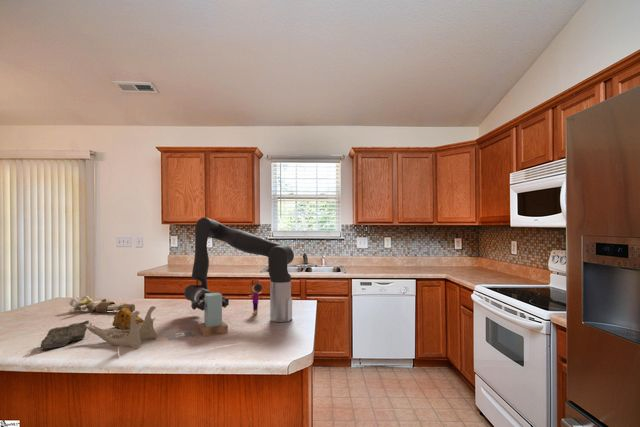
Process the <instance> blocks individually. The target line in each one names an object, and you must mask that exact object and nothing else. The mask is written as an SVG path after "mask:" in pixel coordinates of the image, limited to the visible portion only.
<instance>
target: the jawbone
mask: <svg viewBox="0 0 640 427" xmlns="http://www.w3.org/2000/svg"><path fill="white" fill-rule="evenodd" d="M156 308H157V307H156V306H154V305H153V306H150V307H149V308H148V310H147V313H146V315H145V317H144V319H143V320H144V322H143V323H139V324H136V323H135V318H136V316H137V315H138V316H139V315H140V311H139V310H136V311H135V310H134V312H132V313H133V315H132V317H131V324H130V329H120V328H119V329H117V327H115V328H108V329H104V328H100V327H98V326H96V325H93V323H92V322H89V323H88V324H85V326H86V327H87V330H88V331H89V332H90V333H92V334H94V335H96V336H98V337H99V338H100V339H102V340H103V341H105V342H106V343H107V344H108V345H109V344H110V345H112V346H115V347H129V348H130V347H131V348H132V349H139V348H140V347H141V346H142V340H143V341H144V340H156V339H157V338H158V335H157V332H156V330H155V328H154V321H155V320H156V317H153V318H152V313H153V312H154V310H156Z"/></svg>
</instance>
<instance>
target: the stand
mask: <svg viewBox="0 0 640 427" xmlns="http://www.w3.org/2000/svg"><path fill="white" fill-rule="evenodd" d="M228 328H229V326H228V324H226V323H225V322H224V321H223V320H222V325H220V326H213V327H207V326H206V325H205V324H204V322H202V323H201V322H200V323H198V331H199V332H200V333H201V335H202V336H203V337H208V336H214V335H220V334H227V333H228V332H229V329H228Z"/></svg>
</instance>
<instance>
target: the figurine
mask: <svg viewBox="0 0 640 427" xmlns="http://www.w3.org/2000/svg"><path fill="white" fill-rule="evenodd" d="M92 301H93V299H92V296H88V295H84V296H82V297H81V298H80V300H78V299H77V298H72V299H70V302H69V305H70V306H71V307H73V308H70V309H69V312H76V311H82V310H83V311H85V310H87V312H89V313H90V312H91V313H93V312H98V313H104V314H109V313H108V312H107V311H113V312H116V311H118V312H119V311H120V310H121V309H123V308H127V309H129V310H130V311H131V312H132V313H134V312H135V310H136V305H135V304H134V303H131V304H130V303H124V302H121V303H118V304H116V302H114V301H112V300H111V301H110V298H103V299H100V300H98V301H93V302H92ZM133 311H134V312H133Z"/></svg>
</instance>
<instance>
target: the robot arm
mask: <svg viewBox="0 0 640 427" xmlns="http://www.w3.org/2000/svg"><path fill="white" fill-rule="evenodd" d="M194 230H195V231H194V232H195V233H194V234H195V236H194V237H195V238H194V239H195V241H194V261H193V267H192V271H191V279H193V280H196V281H198V282H200V284H189V285H187V286H186V287H185V289H184V292H183V293H184V294H183V295H184V298H185V299H186V300H188V301H190V302H191V303H190V308H192V310H193V311H194V310H196V309H198V310H200V311H204V306H205V294H206V293H213V292H212V291H210V290H209V287H208V272H209V266H210V258H209V253H208V239H209V238H210V239H214V240H217V241H218V240H219V241H222V242H224V243H226V244H228V245H229V246H230V247H232V248H234V249H236V250H239V251H241V252H244V253H246V254H252V255H257V256H263V257H267V258H268V259H267V263H268V267H267V268H268V276H269V278H270V281H269V282H270V284H269V285H270V287H269V290H270V292H269V294H270V295H269V296H270V297H269V298H270V299H269V303H270V305H269V310H270V312H269V319H270V321H271V322H274V323H284V322H285V323H286V322H290V320H292V319H293V297H292V290H291V289H292V288H291V287H292V275H291V274H290V273H289V271H288V265H289V264H291V263H292V262H293V261H294V257H295V253H294V250H293V249H292V248H291V247H290V246H288V245H285V244H281V243H276V242H272V241H269V240H268V239H265V238H263V237H261V236H257V235H255V234H253V233H251V232H247V231H245V230H242V229H238V228H232V227H229V226H227V225H225V224H222V223H221V222H219V221H217V220H215V219H211V218H209V217H201V218H199V219H198V220H197V222H196V224H195V229H194ZM229 300H230V299H229V298H228V297H226V296H222V308H225V309H226V308H227V307H228V306H229V305H230V304H229Z"/></svg>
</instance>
